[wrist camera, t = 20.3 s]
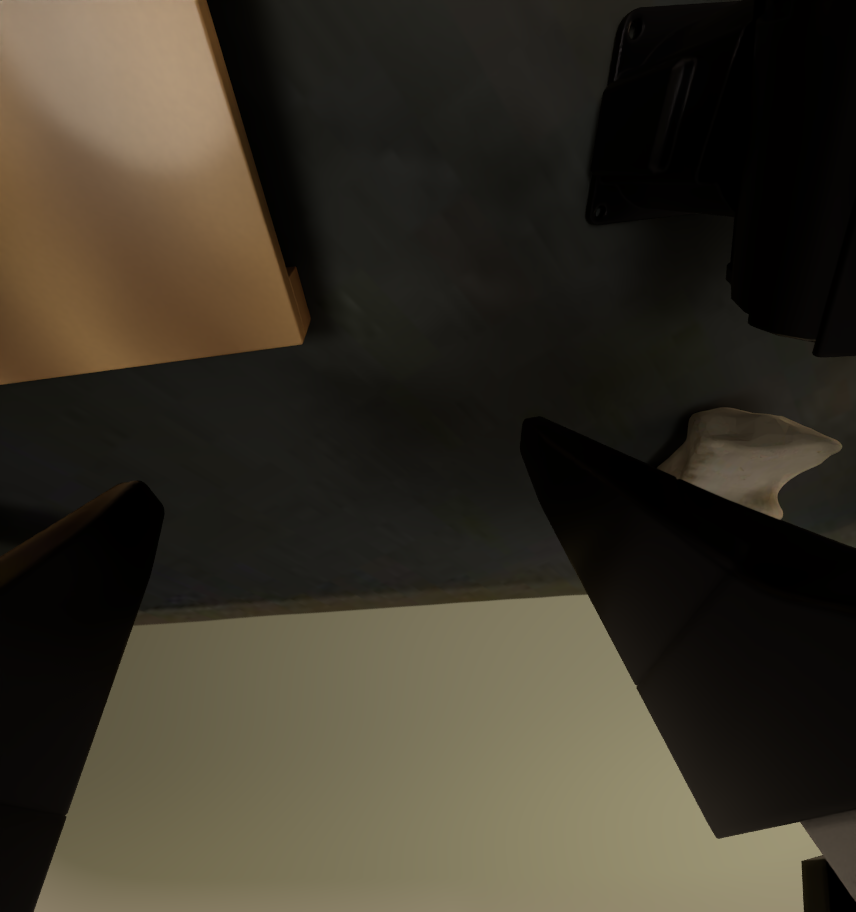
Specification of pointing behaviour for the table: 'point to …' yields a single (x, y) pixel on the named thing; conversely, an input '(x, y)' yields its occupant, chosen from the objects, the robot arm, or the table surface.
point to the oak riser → (129, 195)
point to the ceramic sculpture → (747, 455)
